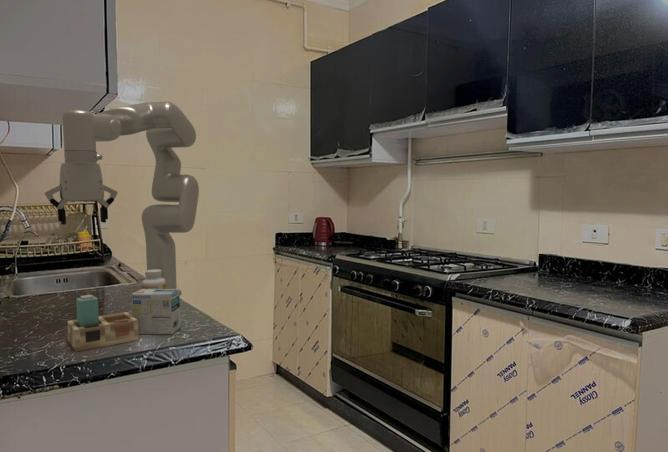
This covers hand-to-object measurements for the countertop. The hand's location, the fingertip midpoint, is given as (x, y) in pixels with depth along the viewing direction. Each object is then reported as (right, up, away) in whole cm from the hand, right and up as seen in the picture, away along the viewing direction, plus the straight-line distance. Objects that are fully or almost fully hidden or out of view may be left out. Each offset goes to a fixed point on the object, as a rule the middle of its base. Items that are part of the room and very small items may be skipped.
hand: (83, 223), depth 131 cm
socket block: (+10, -29, -9) cm, 32 cm away
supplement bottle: (+13, -27, +17) cm, 34 cm away
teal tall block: (+7, -28, -11) cm, 31 cm away
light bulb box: (+20, -29, -1) cm, 35 cm away
